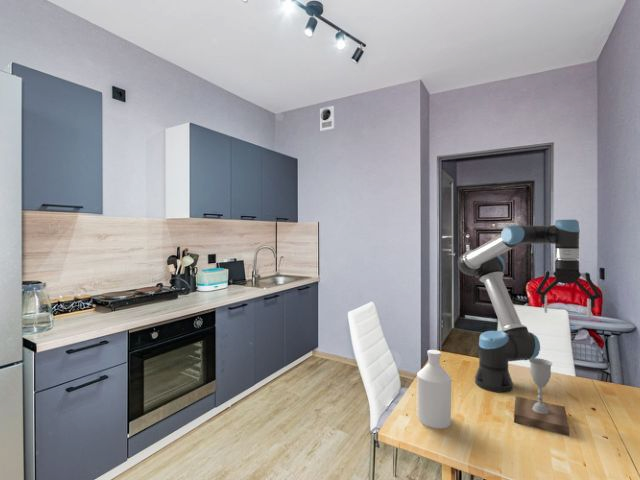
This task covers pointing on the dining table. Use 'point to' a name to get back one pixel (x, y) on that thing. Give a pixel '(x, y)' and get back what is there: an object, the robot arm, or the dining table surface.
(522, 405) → the plinth
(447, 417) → the bottle
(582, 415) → the dining table surface
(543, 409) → the chalice
